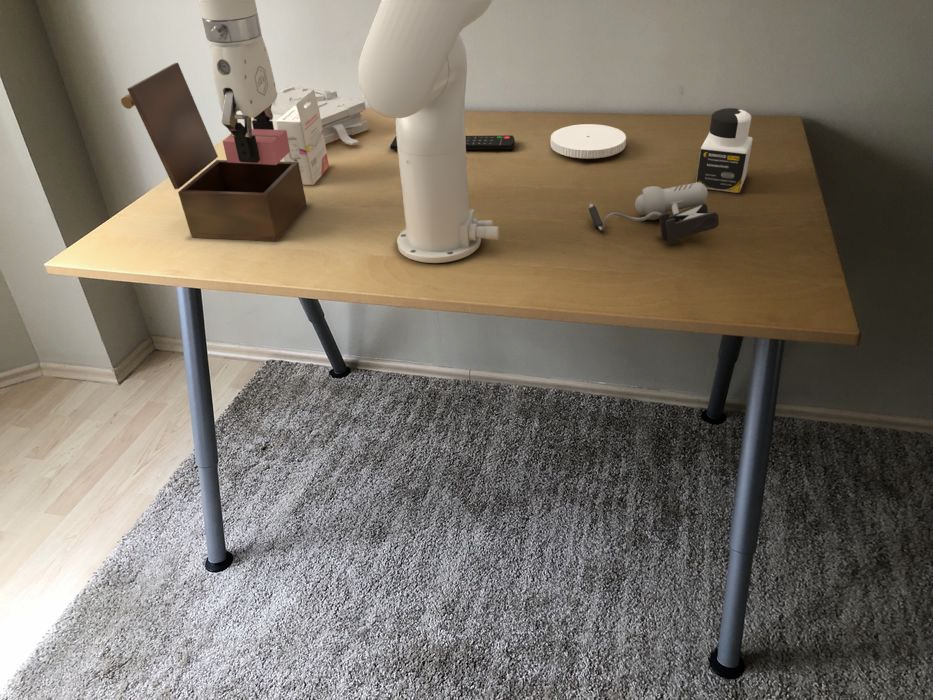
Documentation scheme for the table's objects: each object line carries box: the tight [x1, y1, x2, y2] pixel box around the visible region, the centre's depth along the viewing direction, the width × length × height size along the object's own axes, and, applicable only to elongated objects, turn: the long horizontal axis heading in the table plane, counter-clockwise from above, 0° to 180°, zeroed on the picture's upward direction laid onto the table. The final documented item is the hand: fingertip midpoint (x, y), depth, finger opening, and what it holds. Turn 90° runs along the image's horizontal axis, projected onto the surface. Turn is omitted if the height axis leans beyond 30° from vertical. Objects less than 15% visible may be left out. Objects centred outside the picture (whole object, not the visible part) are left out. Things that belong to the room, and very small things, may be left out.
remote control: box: [389, 134, 516, 151], centre depth 142 cm, size 5×24×1 cm, turn 83°
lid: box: [120, 62, 219, 190], centre depth 113 cm, size 15×13×6 cm
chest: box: [177, 159, 308, 242], centre depth 118 cm, size 15×13×8 cm
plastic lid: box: [550, 123, 627, 160], centre depth 137 cm, size 14×14×2 cm
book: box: [236, 84, 369, 146], centre depth 150 cm, size 19×28×8 cm
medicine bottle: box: [695, 107, 754, 194], centre depth 119 cm, size 7×7×12 cm
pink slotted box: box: [222, 129, 290, 165], centre depth 112 cm, size 8×6×4 cm
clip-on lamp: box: [588, 182, 720, 246], centre depth 109 cm, size 12×6×18 cm
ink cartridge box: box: [276, 90, 330, 186], centre depth 130 cm, size 9×5×15 cm, turn 168°
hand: (258, 152), depth 113 cm, fingers closed on pink slotted box, 5 cm apart
